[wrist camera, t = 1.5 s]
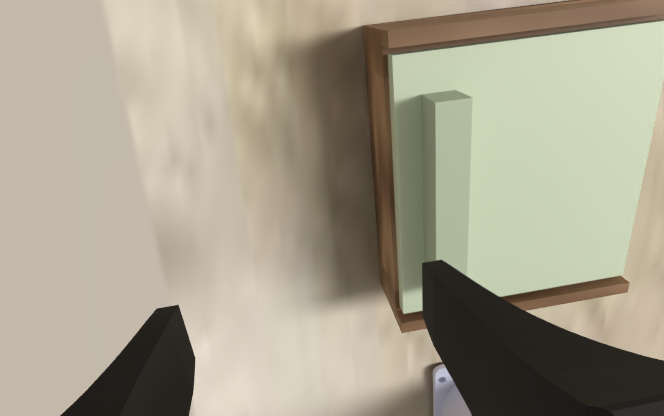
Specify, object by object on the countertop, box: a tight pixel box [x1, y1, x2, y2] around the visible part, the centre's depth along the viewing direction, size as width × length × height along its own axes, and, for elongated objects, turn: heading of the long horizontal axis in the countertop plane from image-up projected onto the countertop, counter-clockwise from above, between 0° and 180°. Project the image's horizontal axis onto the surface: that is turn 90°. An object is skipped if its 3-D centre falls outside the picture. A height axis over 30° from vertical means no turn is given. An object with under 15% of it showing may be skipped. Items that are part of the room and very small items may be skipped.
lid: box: [388, 19, 664, 314], centre depth 19 cm, size 12×12×2 cm
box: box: [363, 0, 664, 333], centre depth 22 cm, size 14×12×4 cm
